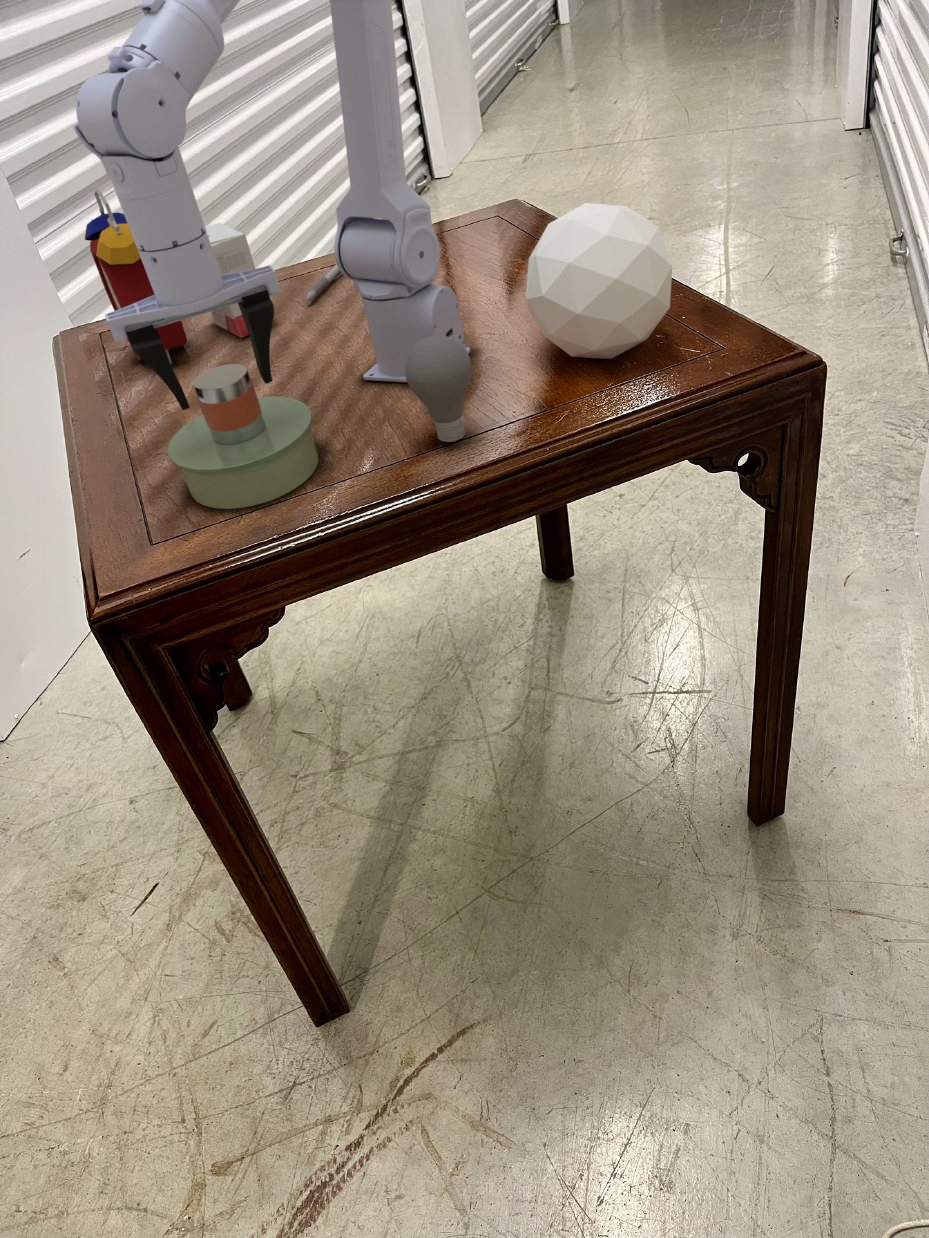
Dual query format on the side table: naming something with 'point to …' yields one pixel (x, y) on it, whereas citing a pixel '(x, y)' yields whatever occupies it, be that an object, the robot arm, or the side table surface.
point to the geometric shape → (599, 280)
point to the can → (229, 404)
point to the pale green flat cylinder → (248, 457)
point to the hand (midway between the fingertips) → (226, 392)
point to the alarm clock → (124, 268)
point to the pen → (324, 282)
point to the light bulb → (441, 382)
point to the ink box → (230, 271)
